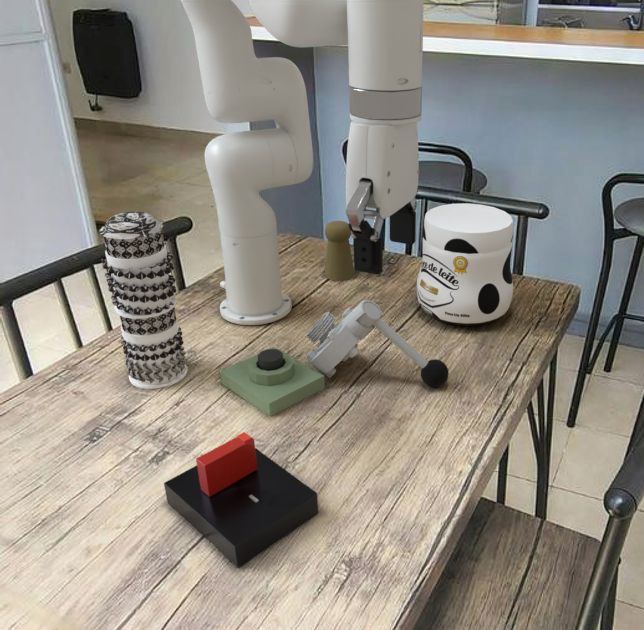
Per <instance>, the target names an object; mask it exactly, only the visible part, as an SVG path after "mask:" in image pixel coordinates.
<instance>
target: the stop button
mask: <svg viewBox="0 0 644 630" xmlns="http://www.w3.org/2000/svg"><path fill="white" fill-rule="evenodd" d="M277 349H278V348H277ZM277 349H271V348H267V349H264V350H262V351H260V352H259V353H257V354H258V365H259V368H260V369H261V370H266V371H272V370H277V369H279V368H281V367H283V365H284V362H283V353H282V352H283V351H282V350H281V349H279V350H277ZM280 350H281V351H282V352H281V351H280Z"/></svg>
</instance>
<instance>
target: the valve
mask: <svg viewBox="0 0 644 630" xmlns="http://www.w3.org/2000/svg"><path fill="white" fill-rule="evenodd" d="M383 317H384V315H383V311H382V310H381V307H380V306H379V305H378V304H377V303H376V302H374V301H372V300H370V299H363V300H362V301H361V302H359V303H358V304H357V305H356V306H355V308H353V309H352V308H350V307H347V308H346V309H345V310H344V311H343V312H342V315H341V318H342V319H340V321H339V322H337V323H336V324H335V321H336V316H334V314H332V313H330V311H326V312H325V313H324V314H322V316H320V317H319V319H318V320H316V322H315V323H314V324H313V325H312V326H311V328H310V329H309V330H308V331H307V333H306V334H305V336H304V337H305V338H307V339H308V341H310V342H311V343H312V344H315V343H316V342H318V341H319V343H318V345H317V347H316V348H315V349H314V348H312V349H310V350H309V351H308V352H307V354H306V355H305V356H304V357H305V358H304V359H305V360H306V361H307V362H308V363H309V364H310V365H312V367H314V368H315V370H317V371H318V372H319V373H321V374H323V375H324V376H326V377H327V378H328V379H331V378H332V377H333V376H334V375H335V374H336V372H337V368H335V367H336V366H338V365H339V364H340V363H341V362H346V361H347V360H348V359H349V358H351V359H352V358H354V357H355V356H357V354H358V353H359V351H360V349H359V348H358V346H359V345H358V342H359V341H362V340H363V339H364V338H366V337H367V336H368V335H369V334H370V333H371V332H372V331H373V330H374V329H375V328H376V330H378V331H379V332H380V333H381V334H383V335H384V337H386V338H387V339H388V340H389V341H390V342H392V343H393V344H394V345H395V346H396V347H397V348H398V349H399V350H400V351H402V353H404V354H405V355H406V356H407V357H408V358H409V359H410V360H411V361H413V362H414V363H415V364H416V365H417V366H418V367H420V368H421V369H420V377H421V380H422V382H423V383H424V384H425V385H426V386H427V387H431V388H439V387H441V386H443V385H445V384H446V383H447V381H448V379H449V374H450V373H449V368H448V366H447V365H446V363H445V362H443V361H442V360H440V359H436V358H435V359H430V360H428V359H427V358H426V357H424V356H423V354H421V353H420V352H419V351H417V349H415V348H414V347H413V346H412V345H411V344H410V343H409V342H408V341H407V340H405V339H404V338H403V337H402V336H401V335H400V334H399V333H398V332H397V331H396V330H394V329H393V328H392V327H391V326H390V325H389V324H387V322H385V320H383V319H382V318H383Z"/></svg>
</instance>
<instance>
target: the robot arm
mask: <svg viewBox="0 0 644 630" xmlns="http://www.w3.org/2000/svg"><path fill="white" fill-rule="evenodd" d="M247 1H248V4H249V7H250V9H251V11H252V14H253V15H254V17H255V18H256V20H257V21H258V22H259V24H261V25H262V27H263V28H264V29H265V30H266V31H267V32H268V33H269V34H270V35H271V36H272V37H273V38H275V39H276V40H277V41H279V42H280V43H282V44H284V45H287V46H289V47H294V48H316V47H335V46H347V54H348V55H347V56H348V57H347V60H348V85H349V86H348V95H349V96H348V98H349V119H350V120H351V122H350V124H349V131H348V139H347V148H346V164H345V165H346V169H345V175H346V176H345V207H346V208H345V214H346V218H347V220H348V224H349V229H350V230H351V236H350V238H351V239H352V240H353V268H354V271H356V272H361V273H367V274H372V275H377V276H379V275H380V274H382V273H383V270H384V269H383V267H384V263H383V256H384V255H383V253H384V252H383V250H384V249H383V248H384V247H383V238H380V234H381V231H382V227H383V224H384V220H385V219H387V218H389V240H390V242H391V243H398V244H403V245H411V246H412V245H414V244H415V243H416V239H417V237H416V233H417V212H416V211H417V209H418V201H417V199H416V198H417V194H418V193H419V176H420V167H419V162H420V160H419V157H420V156H419V135H418V123H419V122H420V121H421V120H422V112H423V111H422V107H423V105H422V103H423V54H424V52H423V49H424V0H247ZM180 2H181V5H182V6H183V7H182V8H183V9H184V12H185V13H186V16H187V18H188V21H189V24H190V26H191V28H192V32H193V37H194V43H195V49H196V55H197V61H198V66H199V67H198V68H199V73H200V79H201V86H202V92H203V97H204V101H205V105H206V109H207V111H208V114H209V116H210V117H211V118H212V119H213V120H214V121H216V122H218V123H222V124H244V123H245V124H246V123H253V122H255V123H256V122H263V121H274V124H275V127H274V128H265V129H252V130H244V131H234V132H229V133H224V134H221V135H218V136H216V137H214V138H213V139H211V140H210V141H209V142H208V143H207V145H206V147H205V150H204V165H205V168H206V169H205V170H206V173H207V175H208V179H209V182H210V186H211V190H212V193H213V197H214V202H215V203H214V204H215V208H216V214H217V223H218V231H219V237H220V246H221V254H222V262H223V270H224V278H225V280H222V281H220V283H219V286H220V288H222V289H224V290H225V295H226V297H225V298H224V299H223V301H221V303H220V305H219V313H220V315H221V317H222V318H223V319H224V320H226V321H227V322H229V323H232V324H235V325H241V326H260V325H261V326H262V325H267V324H270V323H274V322H277V321H279V320H282V319H283V318H285V317H287V315H288V314H290V312H291V310H292V305H293V303H292V299H291V298H290V297H289V296H288V295H287V294H286V293H284V292H283V287H282V276H281V264H280V250H279V238H278V235H279V234H278V226H277V225H278V224H277V217H276V213H275V211H274V209H273V208H272V207H271V205H270V204H269V203H268V202H267V201H266V200H265V199H264V198H262V196H261V195H260V193H261V191H265V190H269V189H274V188H280V187H286V186H287V187H288V186H293V185H298V184H302V183H304V182H305V181H307V180H309V178H310V177H311V175H312V173H313V171H314V170H313V168H314V149H313V140H312V131H311V122H310V121H311V120H310V111H309V103H308V95H307V88H306V83H305V80H304V78H303V75H302V73H301V71H300V69H299V68H298V66H297V65H296V64H295V63H294V62H293V61H292V60H291V59H288V58H285V57H280V56H274V57H271V56H270V57H257V56H256V53H255V49H254V43H253V42H254V41H253V34H252V27H251V25H250V23H249V21H248V19H247V18H246V16H245V15H244V13H243V12H242V11H241V9H240V8H239V7H238V6H237V5H236V4H235V2H233V0H180ZM367 208H368V209H367ZM372 209H373V210H372ZM374 209H375V210H374ZM366 219H369V220H370V219H371V220H373V224H372V226H371V224H370V223H369V221H368V220H366Z"/></svg>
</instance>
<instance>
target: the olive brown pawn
mask: <svg viewBox="0 0 644 630" xmlns="http://www.w3.org/2000/svg"><path fill="white" fill-rule="evenodd" d="M324 236H325V238H326V239H327V245H326V253H325V254H326V255H325V256H326V257H325V267H324V277H325V278H326V279H328V280H331V281H338V282H339V281H340V282H341V281H347V280H348V281H349V280H350V279H353V278H354V277H355V268H354V261H353V256H352V250H351V243H350V238H351V230H350V229H349V222H347V221H343V220H333V221H330V222H328V223H327V224H326V225H325V226H324Z"/></svg>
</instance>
